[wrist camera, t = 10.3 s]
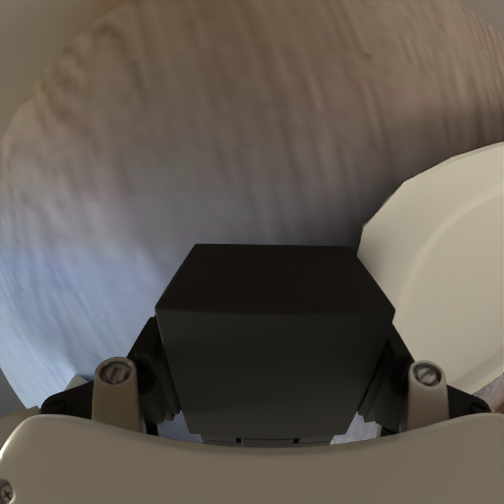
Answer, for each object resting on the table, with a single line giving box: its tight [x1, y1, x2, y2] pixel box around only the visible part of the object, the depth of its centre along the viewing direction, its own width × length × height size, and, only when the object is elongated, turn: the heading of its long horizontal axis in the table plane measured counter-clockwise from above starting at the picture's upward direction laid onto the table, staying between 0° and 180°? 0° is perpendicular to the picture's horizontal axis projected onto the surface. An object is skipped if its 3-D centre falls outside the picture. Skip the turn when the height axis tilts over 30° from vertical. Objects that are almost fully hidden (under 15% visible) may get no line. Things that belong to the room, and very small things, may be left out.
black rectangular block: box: [155, 244, 396, 448], centre depth 10 cm, size 8×6×4 cm
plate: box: [356, 141, 504, 395], centre depth 11 cm, size 18×18×2 cm
